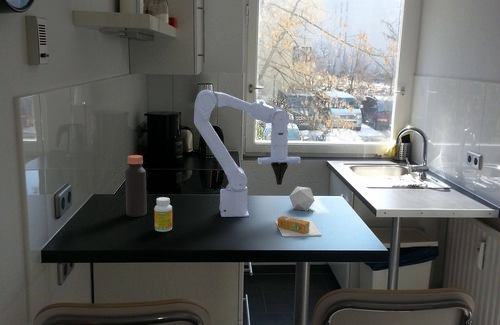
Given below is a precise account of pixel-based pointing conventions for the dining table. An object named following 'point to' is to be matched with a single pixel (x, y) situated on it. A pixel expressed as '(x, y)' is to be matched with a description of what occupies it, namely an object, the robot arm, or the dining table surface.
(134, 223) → the dining table surface
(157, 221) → the supplement bottle
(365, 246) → the dining table surface
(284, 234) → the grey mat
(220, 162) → the robot arm
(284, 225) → the supplement box
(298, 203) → the die
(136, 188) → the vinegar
